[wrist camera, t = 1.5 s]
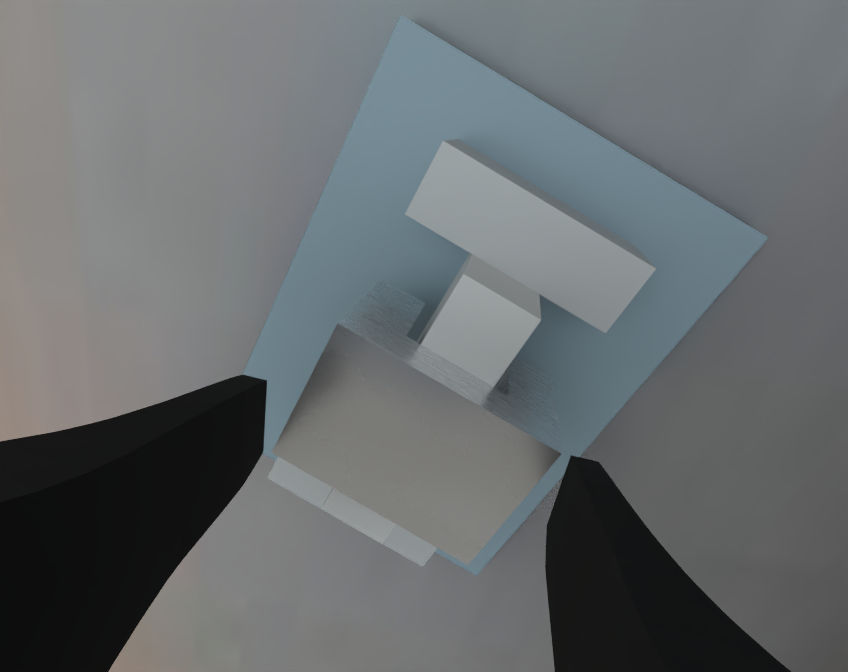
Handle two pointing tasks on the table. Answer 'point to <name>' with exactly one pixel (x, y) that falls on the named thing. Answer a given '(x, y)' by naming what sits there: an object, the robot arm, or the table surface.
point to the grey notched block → (420, 428)
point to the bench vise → (493, 257)
